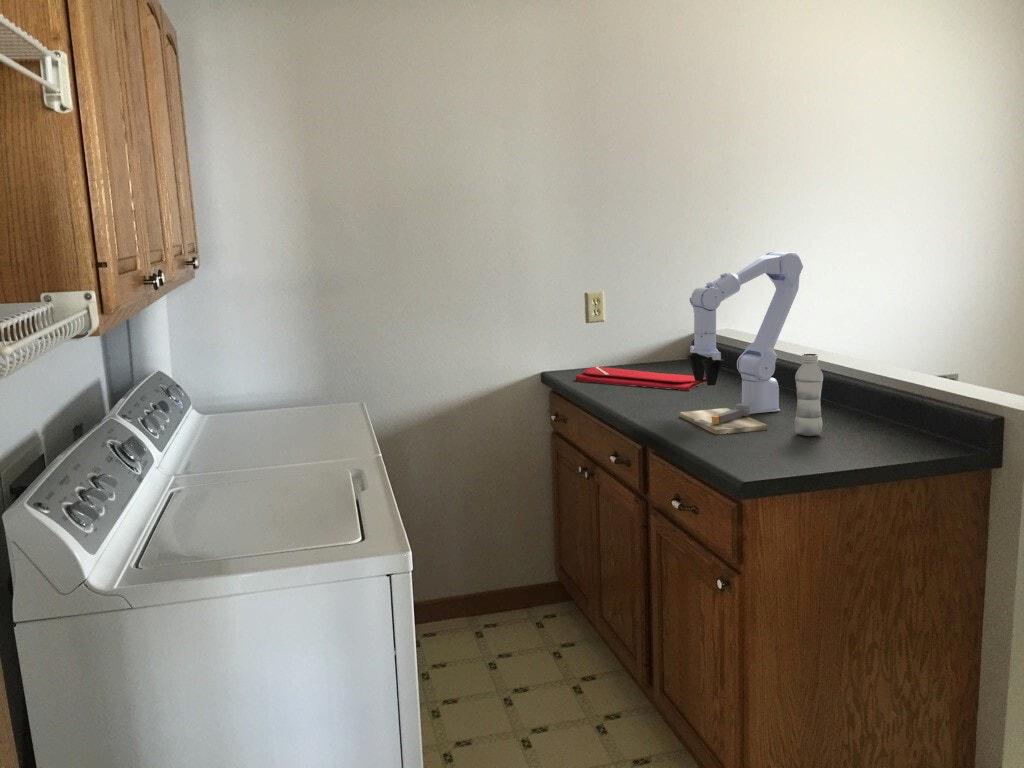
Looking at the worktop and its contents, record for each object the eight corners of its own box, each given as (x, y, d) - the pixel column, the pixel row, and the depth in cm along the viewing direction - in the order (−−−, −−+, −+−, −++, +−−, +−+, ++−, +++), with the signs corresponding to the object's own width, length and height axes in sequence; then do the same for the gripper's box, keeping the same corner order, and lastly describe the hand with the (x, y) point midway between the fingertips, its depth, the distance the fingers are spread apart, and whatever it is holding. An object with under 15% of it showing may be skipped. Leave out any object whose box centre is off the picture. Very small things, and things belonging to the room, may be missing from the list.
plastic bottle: (808, 440, 217) (810, 357, 213) (788, 434, 223) (789, 354, 219) (828, 436, 220) (830, 354, 216) (807, 430, 226) (809, 351, 222)
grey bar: (740, 412, 241) (740, 402, 241) (752, 414, 238) (752, 404, 238) (707, 422, 231) (707, 412, 231) (719, 424, 229) (719, 414, 228)
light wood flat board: (726, 412, 250) (727, 407, 249) (769, 430, 227) (769, 425, 227) (676, 416, 246) (676, 411, 246) (715, 436, 224) (715, 430, 224)
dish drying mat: (688, 392, 280) (688, 381, 280) (574, 383, 303) (574, 372, 303) (708, 384, 293) (708, 372, 292) (597, 375, 316) (597, 364, 315)
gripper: (679, 330, 247) (680, 379, 249) (703, 336, 233) (703, 388, 235) (703, 328, 248) (703, 377, 251) (728, 335, 234) (727, 386, 237)
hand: (705, 382), depth 243 cm, fingers open, 7 cm apart
